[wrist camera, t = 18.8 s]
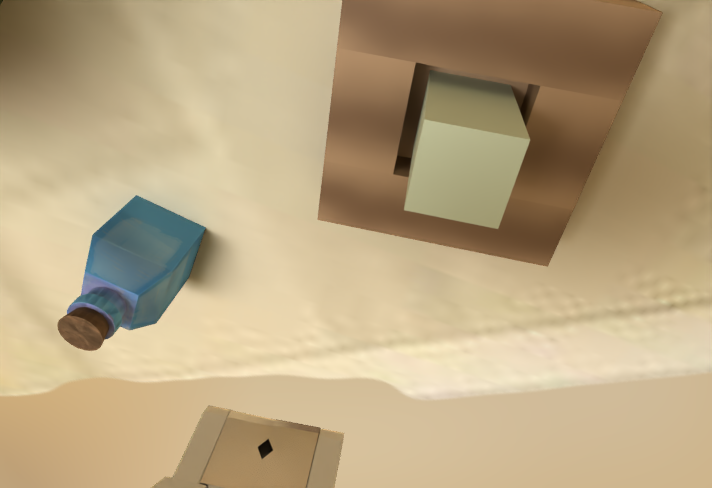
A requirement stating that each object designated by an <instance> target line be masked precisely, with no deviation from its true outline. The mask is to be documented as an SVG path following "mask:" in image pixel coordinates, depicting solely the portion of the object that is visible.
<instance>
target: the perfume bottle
mask: <svg viewBox="0 0 712 488" xmlns="http://www.w3.org/2000/svg"><path fill="white" fill-rule="evenodd" d="M204 231H205V227H203V226H201V225H199V224H197V223H195V222H192V221H190V220H188V219H186V218H184V217H182V216H180V215H177V214H175V213H173V212H171V211H169V210H167V209H164V208H162V207H160V206H158V205H156V204H154V203H152V202H149V201H147V200H145V199H143V198H141V197H139V196H137V195H136V196H135V197H134V198H133V199H132V200H131V201H130V202H128V203H127V204H126V205H125V206H124V207H123V208H122V209H121V210H120V211H119V212H117V213H116V214H115V215H114V216H113V217H112V218H111V219H110V220H109V221H107V222H106V223H105V224H104V225H103V226H102V227H101V228H100V229H99V230H97V231H96V232H95V233H94V234H93V235H92V240H91V245H90V250H89V255H88V259H87V264H86V269H85V274H84V280H83V286H82V292H81V296H79V297H78V298H77V299H76V300H75V301H74V302H73V303H72V304H71V305H70V306H69V308H68V310H67V315H66V316H64V317H63V318H61V319H60V320H59V322H58V330H59V332H60V334H61V336H62V337H63V338H64V339H65V340H66V341H67V342H69V343H70V344H71V345H73V346H75V347H77V348H79V349H83V350H88V351H92V350H97V349H99V348H100V347H101V345H102V343H103V341H104V339H108V338H110V337H111V336H113V334H114V333H115V332H116V331H117V329H118V328H119V327H123V328H125V329H127V330H133V329H136V328H140V327H144V326H148V325H152V324H156V323H157V321H158V320H159V319H160V317H161V316H162V314H163V313H164V312H165V310H166V309H167V307H168V306H169V305H170V303H171V302H172V300H173V299H174V298H175V296H176V295H177V293H178V292H179V291H180V289H181V288H182V286H183V285H184V284H185V282H186V281H187V279H188V278H189V275H190V272H191V270H192V267H193V264H194V261H195V258H196V255H197V252H198V249H199V246H200V243H201V240H202V237H203V234H204Z"/></svg>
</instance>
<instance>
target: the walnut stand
mask: <svg viewBox="0 0 712 488" xmlns="http://www.w3.org/2000/svg"><path fill="white" fill-rule="evenodd" d="M661 15H662V12H660V11H658V10H656V9H654V8H651V7H649V6H647V5H645V4H643V3H641V2H638V1H636V0H342V9H341V18H340V27H339V35H338V44H337V53H336V62H335V71H334V79H333V88H332V97H331V106H330V115H329V124H328V132H327V141H326V150H325V159H324V168H323V176H322V185H321V194H320V203H319V212H318V220H322V221H327V222H332V223H336V224H341V225H346V226H351V227H356V228H361V229H366V230H371V231H376V232H381V233H385V234H390V235H395V236H400V237H405V238H410V239H415V240H420V241H425V242H430V243H435V244H439V245H444V246H449V247H454V248H459V249H464V250H469V251H474V252H479V253H484V254H489V255H493V256H498V257H503V258H508V259H513V260H518V261H523V262H528V263H533V264H538V265H543V266H547V267H548V265H549V262H550V260H551V258H552V256H553V254H554V251H555V249H556V247H557V245H558V243H559V240H560V238H561V236H562V234H563V232H564V229H565V227H566V225H567V223H568V220H569V218H570V216H571V214H572V212H573V209H574V207H575V205H576V203H577V201H578V198H579V196H580V194H581V192H582V190H583V187H584V185H585V183H586V181H587V178H588V176H589V174H590V172H591V170H592V167H593V165H594V163H595V161H596V159H597V156H598V154H599V152H600V150H601V148H602V145H603V143H604V141H605V139H606V136H607V134H608V132H609V130H610V128H611V125H612V123H613V121H614V119H615V117H616V114H617V112H618V110H619V108H620V106H621V103H622V101H623V99H624V97H625V95H626V92H627V90H628V88H629V86H630V83H631V81H632V79H633V77H634V75H635V72H636V70H637V68H638V66H639V64H640V61H641V59H642V57H643V55H644V53H645V50H646V48H647V46H648V44H649V41H650V39H651V37H652V35H653V33H654V30H655V28H656V26H657V24H658V22H659V19H660V17H661ZM430 70H433V71H438V72H444V73H449V74H454V75H460V76H465V77H470V78H476V79H481V80H487V81H492V82H497V83H503V84H508V85H511V88H512V90H513V93H514V96H515V99H516V102H517V104H518V107H519V110H520V113H521V115H522V118H523V121H524V124H525V126H526V129H527V132H528V135H529V137H530V142H529V145H528V148H527V150H526V153H525V156H524V159H523V162H522V164H521V167H520V170H519V173H518V175H517V178H516V181H515V184H514V186H513V189H512V192H511V195H510V197H509V200H508V203H507V206H506V209H505V211H504V214H503V217H502V220H501V222H500V225H499V228H498V229H495V228H490V227H485V226H480V225H475V224H470V223H465V222H460V221H455V220H450V219H445V218H440V217H436V216H431V215H426V214H421V213H416V212H411V211H406V210H404V206H405V199H406V193H407V186H408V179H409V173H410V166H411V159H412V153H413V146H414V141H415V137H416V132H417V128H418V123H419V119H420V114H421V109H422V105H423V100H424V96H425V91H426V87H427V82H428V78H429V73H430Z"/></svg>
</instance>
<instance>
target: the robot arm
mask: <svg viewBox="0 0 712 488" xmlns="http://www.w3.org/2000/svg"><path fill="white" fill-rule="evenodd" d="M343 438H344V433H341V432H337V431H331V430H326V429H321V428H319V427H313V426H308V425H303V424H298V423H292V422H287V421H282V420H277V419H276V420H275V419H270V418H265V417H261V416H256V415H251V414H246V413H241V412H236V411H233V410H230V409H225V408H219V407H214V406H208V407H207V408H206V410H205V411H204V412H203V414H202V416H201V418H200V420H199V422H198V425H197V427H196V429H195V431H194V433H193V435H192V437H191V440H190V442H189V444H188V446H187V448H186V450H185V452H184V454H183V456H182V458H181V461H180V463H179V465H178V467H177V469H176V472H175V473H174V475H173V478H171V477H164V478H163V479H162V480H160V481H159V482H158V483H156V484H155V485H154V486H152V487H151V488H334V486H335V481H336V476H337V470H338V465H339V460H340V455H341V449H342V444H343Z"/></svg>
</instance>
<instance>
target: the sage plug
mask: <svg viewBox="0 0 712 488" xmlns="http://www.w3.org/2000/svg"><path fill="white" fill-rule="evenodd" d="M529 142H530V137H529V135H528V132H527V129H526V126H525V124H524V121H523V118H522V115H521V113H520V110H519V107H518V104H517V102H516V99H515V96H514V93H513V90H512V88H511V85H508V84H503V83H497V82H492V81H487V80H481V79H476V78H470V77H465V76H460V75H454V74H449V73H444V72H438V71H433V70H430V73H429V78H428V82H427V87H426V91H425V96H424V100H423V105H422V109H421V114H420V119H419V123H418V128H417V132H416V137H415V141H414V146H413V153H412V159H411V166H410V173H409V179H408V186H407V193H406V199H405V206H404V210H406V211H411V212H416V213H421V214H426V215H431V216H436V217H440V218H445V219H450V220H455V221H460V222H465V223H470V224H475V225H480V226H485V227H490V228H495V229H498V228H499V225H500V222H501V220H502V217H503V214H504V211H505V209H506V206H507V203H508V200H509V197H510V195H511V192H512V189H513V186H514V184H515V181H516V178H517V175H518V173H519V170H520V167H521V164H522V162H523V159H524V156H525V153H526V150H527V148H528V145H529Z"/></svg>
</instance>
